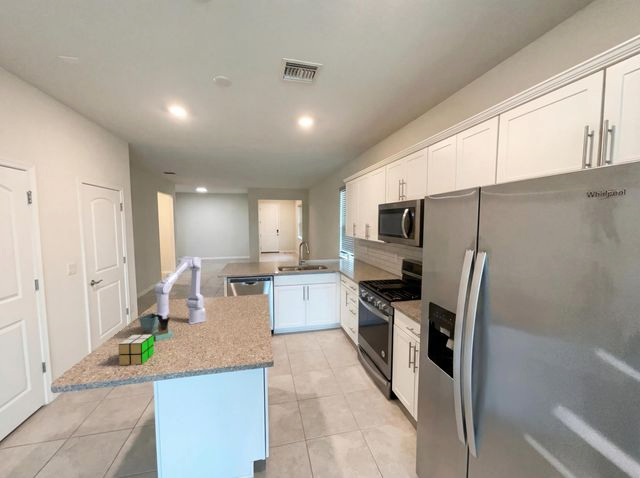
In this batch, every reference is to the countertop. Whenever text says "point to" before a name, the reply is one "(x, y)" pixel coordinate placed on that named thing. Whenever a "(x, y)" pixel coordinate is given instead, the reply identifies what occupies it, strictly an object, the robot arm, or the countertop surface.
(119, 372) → the countertop surface
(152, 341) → the puzzle cube
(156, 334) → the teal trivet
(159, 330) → the walnut block
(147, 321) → the flower pot
